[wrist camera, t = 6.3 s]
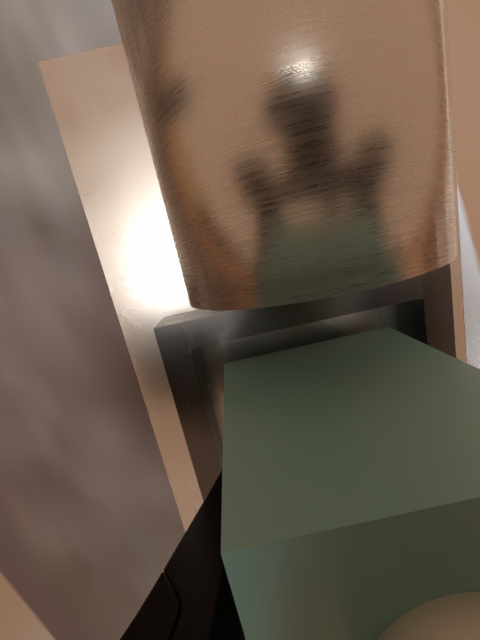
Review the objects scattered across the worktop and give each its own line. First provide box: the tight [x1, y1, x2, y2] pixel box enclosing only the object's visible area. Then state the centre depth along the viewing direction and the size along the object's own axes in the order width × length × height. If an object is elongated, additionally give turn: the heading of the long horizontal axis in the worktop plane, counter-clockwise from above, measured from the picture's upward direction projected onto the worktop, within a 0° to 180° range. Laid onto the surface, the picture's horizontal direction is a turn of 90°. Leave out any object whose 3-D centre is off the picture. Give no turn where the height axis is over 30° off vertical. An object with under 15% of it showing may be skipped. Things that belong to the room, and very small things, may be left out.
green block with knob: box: [221, 327, 480, 640], centre depth 6 cm, size 5×5×7 cm
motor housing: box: [38, 0, 467, 532], centre depth 10 cm, size 16×11×11 cm
